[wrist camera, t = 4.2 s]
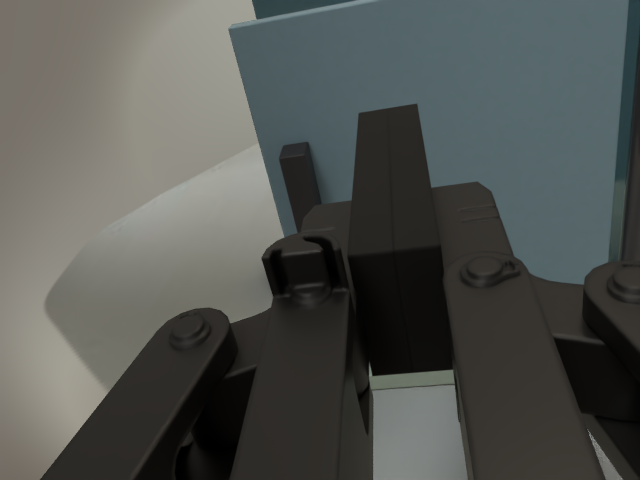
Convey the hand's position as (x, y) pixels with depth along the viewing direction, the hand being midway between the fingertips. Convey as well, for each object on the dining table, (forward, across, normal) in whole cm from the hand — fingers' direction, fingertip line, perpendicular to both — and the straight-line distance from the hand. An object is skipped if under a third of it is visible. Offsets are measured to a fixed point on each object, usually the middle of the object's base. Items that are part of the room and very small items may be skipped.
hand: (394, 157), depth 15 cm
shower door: (+6, +1, -13) cm, 14 cm away
